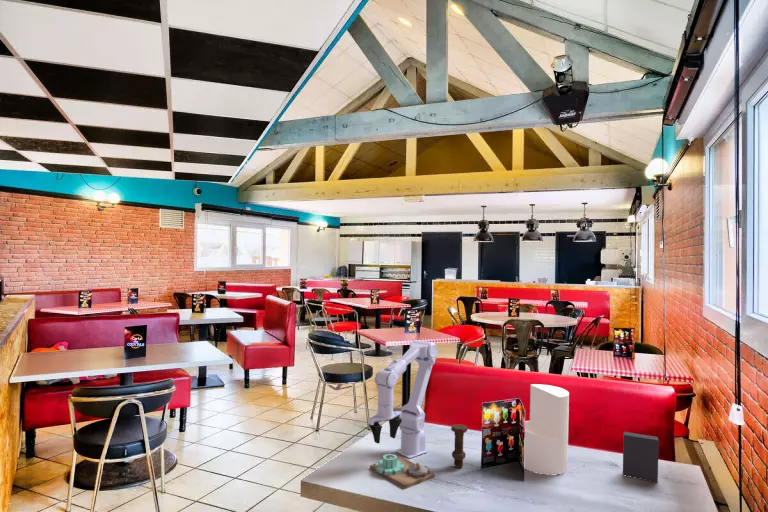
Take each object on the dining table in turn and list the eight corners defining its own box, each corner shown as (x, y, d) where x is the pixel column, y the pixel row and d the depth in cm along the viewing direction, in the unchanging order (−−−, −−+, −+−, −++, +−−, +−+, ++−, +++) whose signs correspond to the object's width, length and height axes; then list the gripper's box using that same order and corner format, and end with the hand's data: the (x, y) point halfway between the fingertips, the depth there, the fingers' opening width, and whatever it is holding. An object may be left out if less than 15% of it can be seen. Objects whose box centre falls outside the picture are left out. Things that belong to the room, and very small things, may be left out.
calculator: (656, 478, 173) (657, 436, 173) (657, 483, 169) (658, 440, 169) (622, 471, 178) (623, 430, 177) (622, 476, 174) (623, 434, 174)
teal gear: (391, 460, 181) (391, 448, 181) (409, 469, 173) (409, 458, 173) (370, 467, 174) (370, 455, 174) (387, 477, 167) (388, 465, 167)
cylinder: (547, 453, 193) (549, 383, 193) (577, 471, 177) (579, 395, 176) (510, 458, 188) (511, 386, 187) (537, 478, 171) (539, 399, 171)
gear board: (399, 458, 185) (399, 445, 185) (434, 477, 170) (434, 462, 170) (370, 468, 176) (370, 454, 176) (404, 488, 161) (405, 473, 161)
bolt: (465, 464, 181) (466, 424, 181) (466, 470, 176) (467, 429, 176) (450, 463, 182) (451, 423, 182) (450, 469, 177) (451, 428, 177)
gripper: (393, 396, 186) (392, 432, 186) (363, 404, 176) (362, 441, 177) (405, 401, 180) (405, 437, 181) (375, 409, 171) (374, 447, 171)
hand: (384, 440), depth 178 cm, fingers open, 7 cm apart
